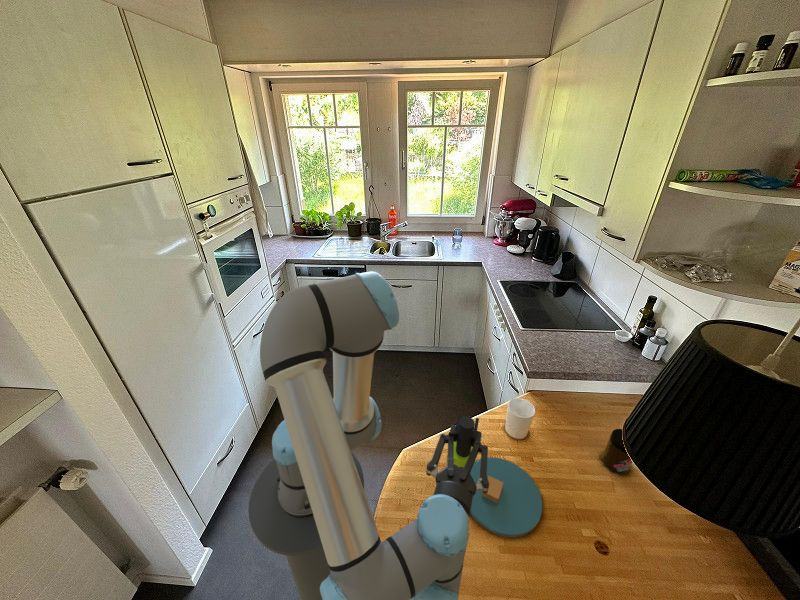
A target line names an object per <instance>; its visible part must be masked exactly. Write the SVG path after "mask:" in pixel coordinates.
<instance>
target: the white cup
mask: <svg viewBox="0 0 800 600" xmlns="http://www.w3.org/2000/svg"><path fill="white" fill-rule="evenodd" d="M535 414H536V408H535V406H534V404H532V403H531V402H530V401H529V400H526V399H525V398H522V397H514V398H511V399H509V401H508V402H507V408H506V414H505V425H504V429H505V432H506V434H508V435H509V436H510V437H511V438H514V439H517V440H521V439H524V438H526V437H527V436H528V433H529V430H530V428H531V425H532V423H533V419H534V417H535Z"/></svg>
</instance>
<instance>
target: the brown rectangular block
mask: <svg viewBox="0 0 800 600" xmlns="http://www.w3.org/2000/svg"><path fill="white" fill-rule="evenodd" d="M488 481H489V488H488V493H483V494H482V496H483V497H485V498H487V499H489V500H491V501H493V502H495V503H497V504H498V501H499V497H500V494H501V491H502V487H503V482H501V481H499V480H497V479H495V478H493V477H491V476H488Z"/></svg>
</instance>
